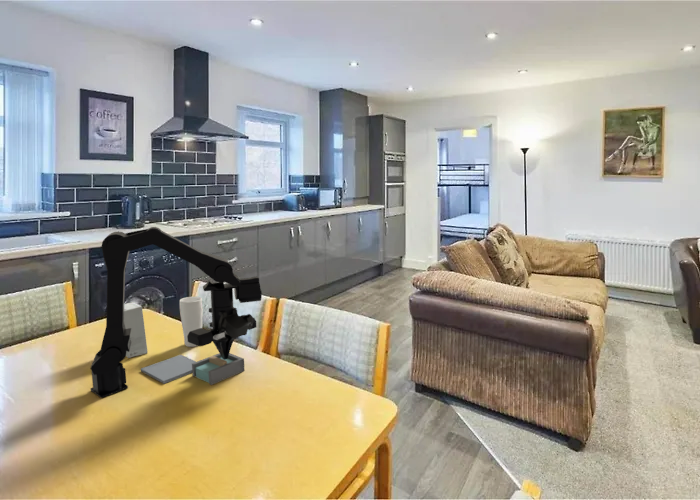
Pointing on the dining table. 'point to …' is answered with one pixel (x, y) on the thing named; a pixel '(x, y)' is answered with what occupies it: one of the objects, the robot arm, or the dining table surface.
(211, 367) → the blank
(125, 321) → the skincare box
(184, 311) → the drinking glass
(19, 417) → the dining table surface
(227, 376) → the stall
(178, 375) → the mat
